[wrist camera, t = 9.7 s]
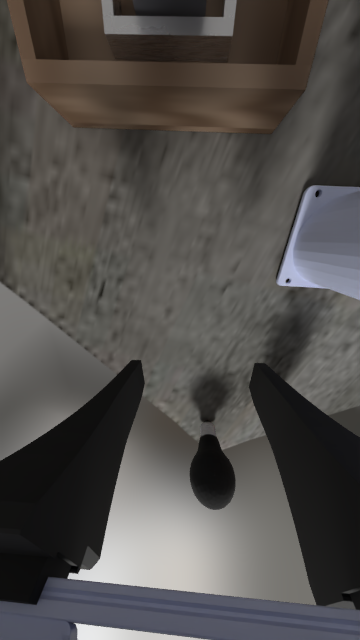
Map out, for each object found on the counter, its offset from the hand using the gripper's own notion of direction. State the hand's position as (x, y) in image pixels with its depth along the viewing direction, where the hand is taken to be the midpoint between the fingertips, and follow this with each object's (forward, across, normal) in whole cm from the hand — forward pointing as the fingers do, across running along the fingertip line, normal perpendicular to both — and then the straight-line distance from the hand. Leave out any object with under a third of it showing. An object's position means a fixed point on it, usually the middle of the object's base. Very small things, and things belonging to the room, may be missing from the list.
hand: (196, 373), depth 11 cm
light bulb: (+10, -3, +20) cm, 23 cm away
